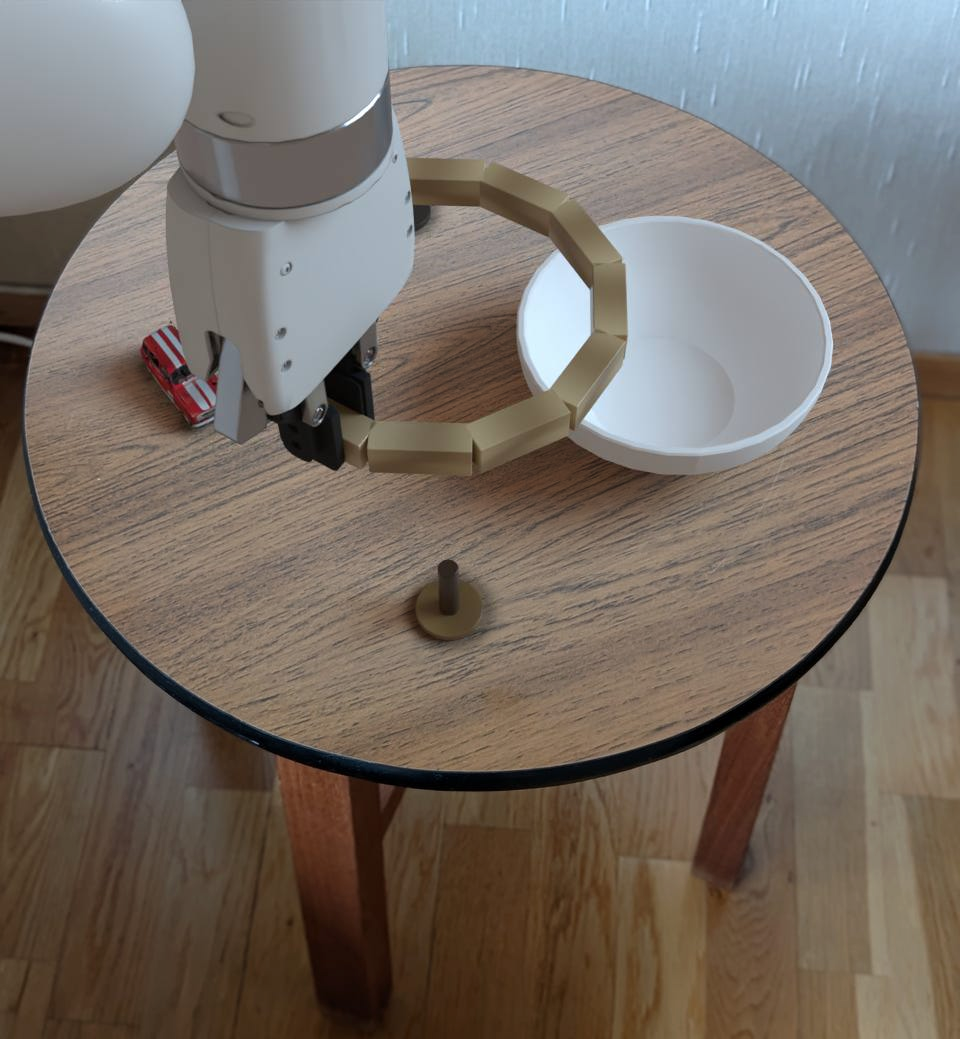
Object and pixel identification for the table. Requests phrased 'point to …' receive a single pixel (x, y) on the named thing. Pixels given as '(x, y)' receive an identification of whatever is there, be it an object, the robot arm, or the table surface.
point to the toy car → (179, 376)
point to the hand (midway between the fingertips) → (328, 434)
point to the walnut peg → (449, 605)
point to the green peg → (421, 215)
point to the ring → (577, 384)
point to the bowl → (686, 346)
